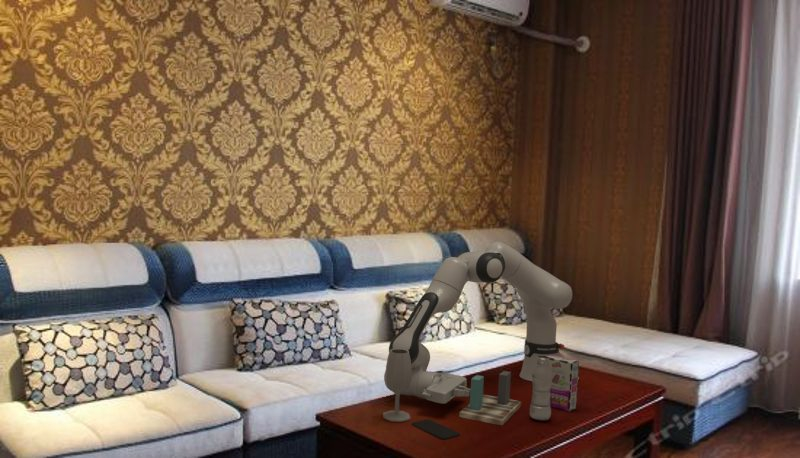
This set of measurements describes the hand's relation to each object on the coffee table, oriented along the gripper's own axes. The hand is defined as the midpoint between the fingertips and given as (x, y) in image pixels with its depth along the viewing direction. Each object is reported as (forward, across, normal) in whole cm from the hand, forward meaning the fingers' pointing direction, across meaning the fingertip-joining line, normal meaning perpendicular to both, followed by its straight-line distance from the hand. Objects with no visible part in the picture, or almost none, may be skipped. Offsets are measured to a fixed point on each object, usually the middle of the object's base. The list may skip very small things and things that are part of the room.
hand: (470, 393), depth 223 cm
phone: (-4, -20, +7) cm, 21 cm away
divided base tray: (+6, +5, +6) cm, 10 cm away
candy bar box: (+23, +23, +7) cm, 33 cm away
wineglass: (-18, -17, +7) cm, 25 cm away
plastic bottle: (+21, +6, +7) cm, 23 cm away
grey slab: (+8, +10, +5) cm, 14 cm away
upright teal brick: (+2, 0, +5) cm, 5 cm away
